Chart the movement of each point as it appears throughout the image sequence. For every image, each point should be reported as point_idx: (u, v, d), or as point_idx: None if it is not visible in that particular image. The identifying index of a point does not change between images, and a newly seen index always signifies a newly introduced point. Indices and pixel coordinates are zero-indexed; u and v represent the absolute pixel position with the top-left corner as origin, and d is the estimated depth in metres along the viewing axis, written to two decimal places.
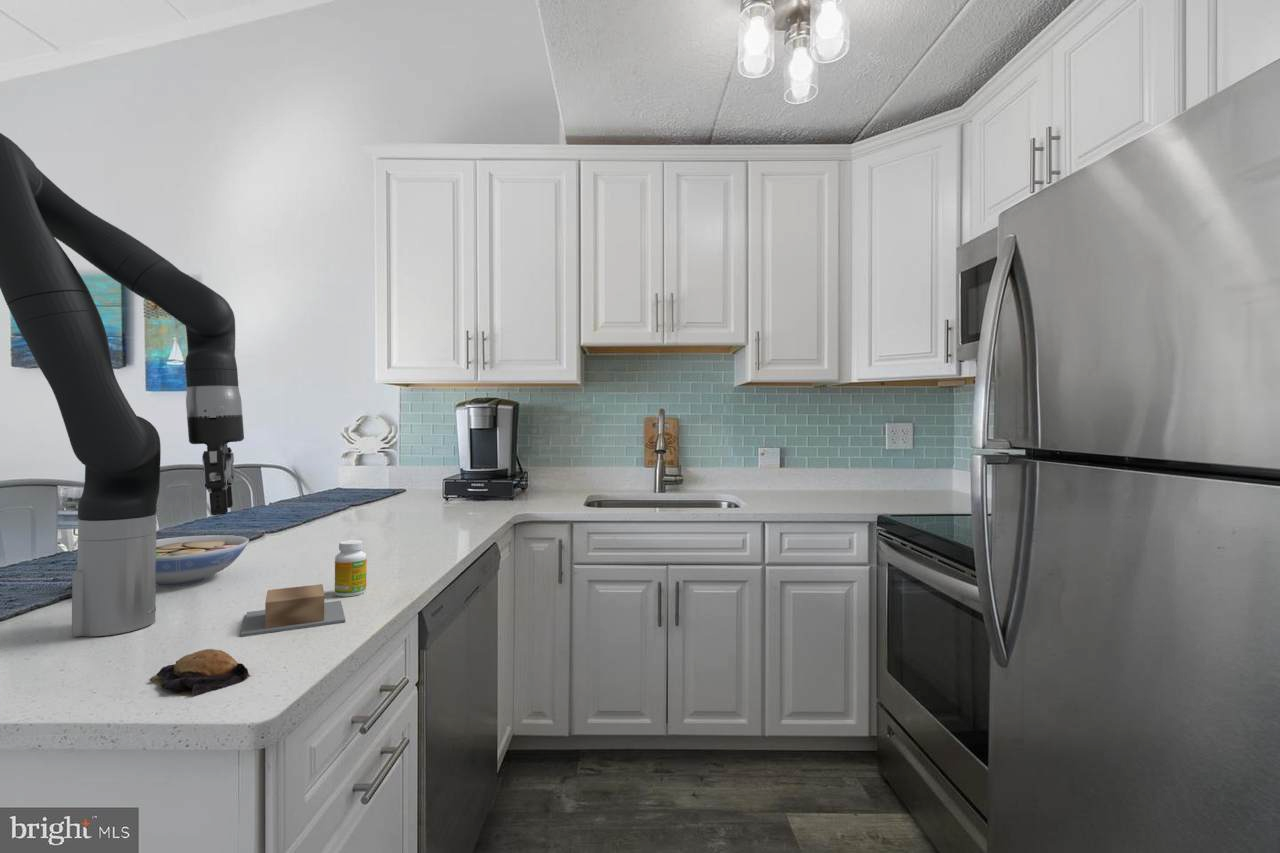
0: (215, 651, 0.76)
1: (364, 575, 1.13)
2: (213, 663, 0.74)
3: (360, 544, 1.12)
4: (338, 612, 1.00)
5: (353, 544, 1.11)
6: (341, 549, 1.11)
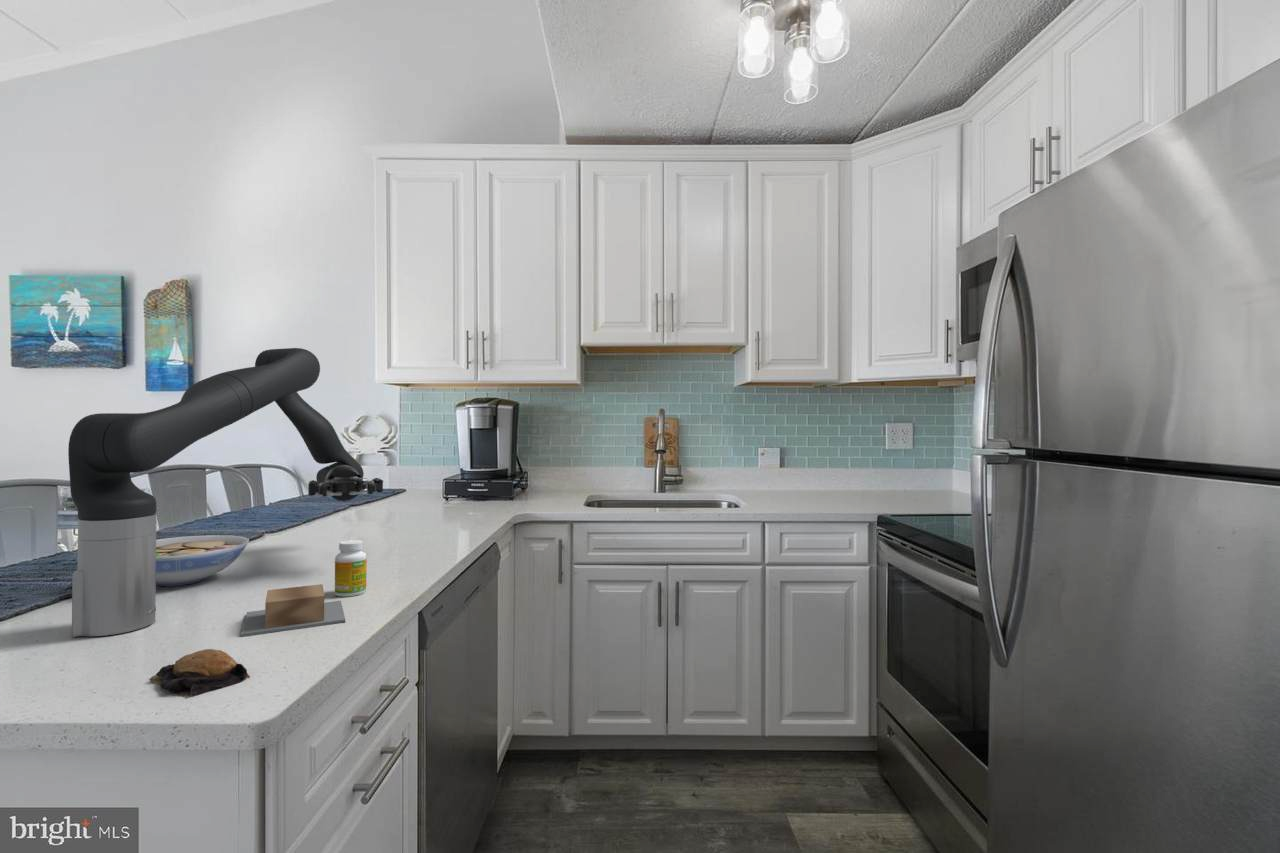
0: (214, 651, 0.76)
1: (364, 575, 1.13)
2: (212, 664, 0.73)
3: (360, 544, 1.12)
4: (338, 612, 1.00)
5: (353, 544, 1.11)
6: (341, 549, 1.11)
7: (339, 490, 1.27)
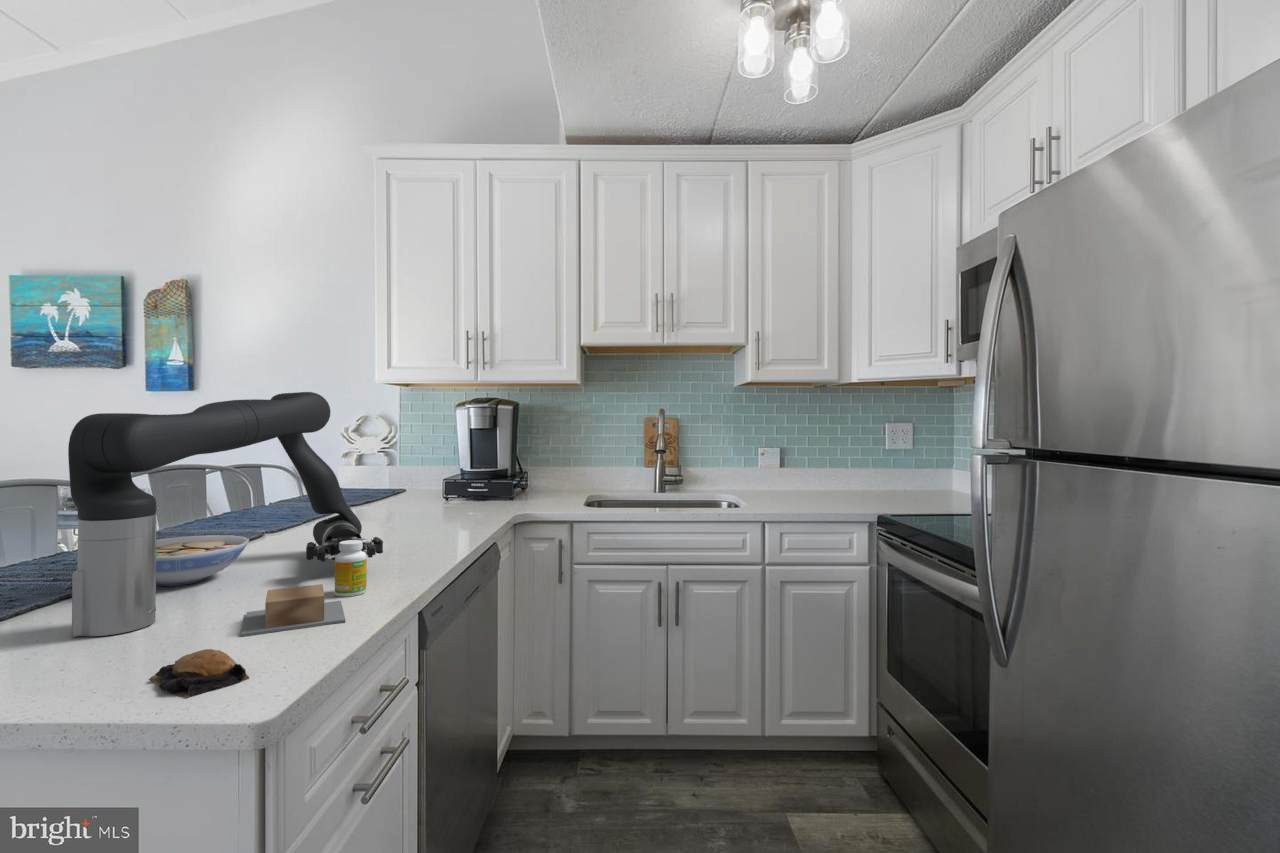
0: (213, 651, 0.76)
1: (364, 575, 1.13)
2: (211, 664, 0.73)
3: (360, 544, 1.12)
4: (338, 612, 1.00)
5: (353, 544, 1.11)
6: (341, 549, 1.11)
7: (338, 552, 1.24)
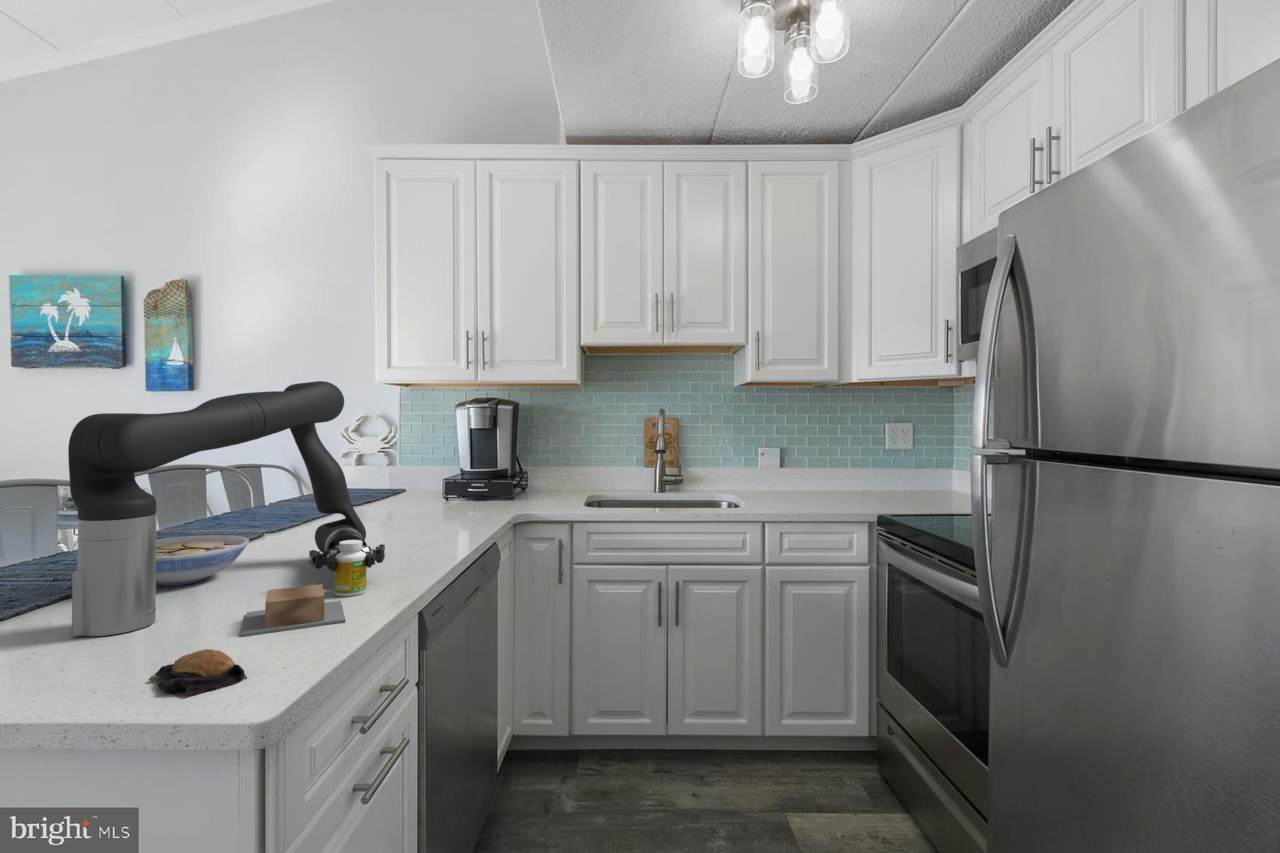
0: (213, 652, 0.75)
1: (364, 575, 1.13)
2: (209, 664, 0.73)
3: (360, 544, 1.12)
4: (338, 612, 1.00)
5: (353, 544, 1.11)
6: (341, 549, 1.11)
7: None
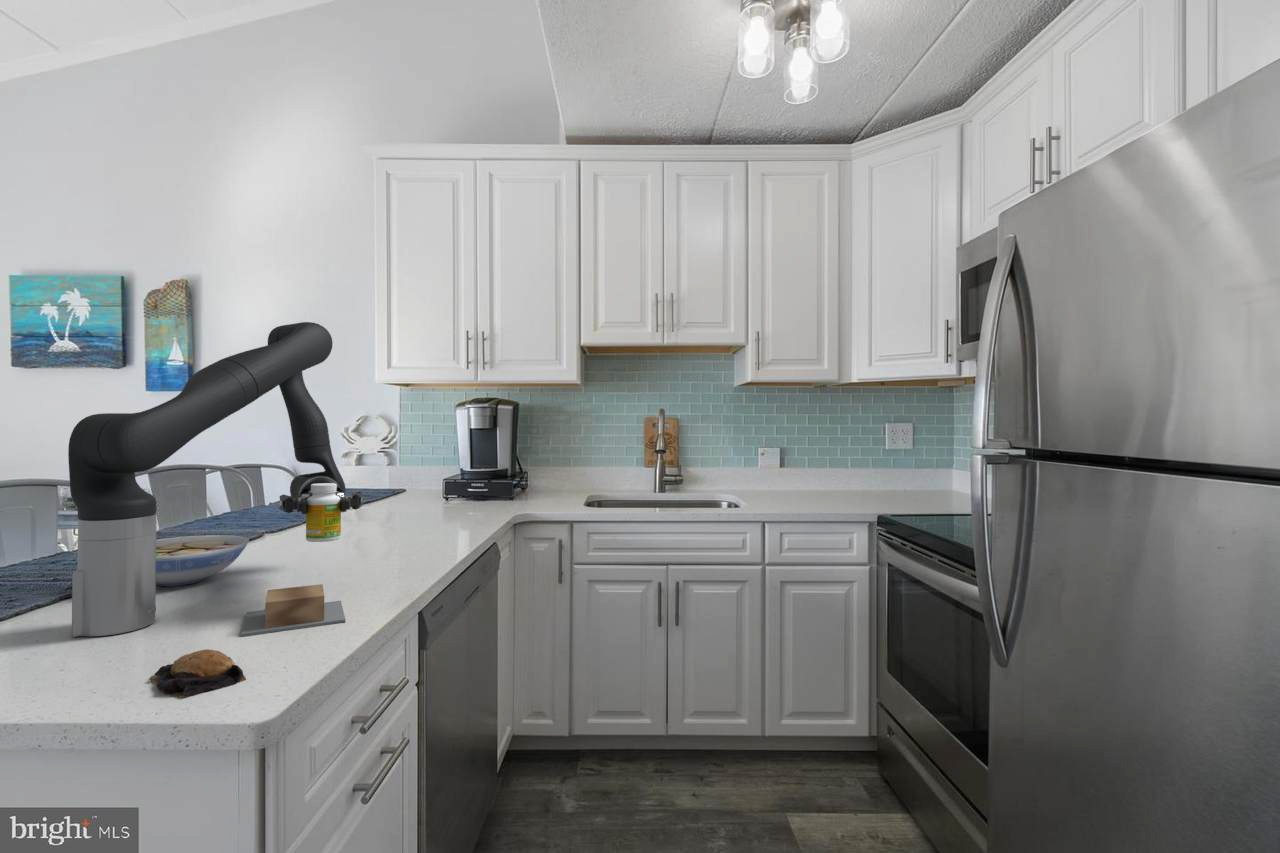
0: (212, 652, 0.75)
1: (338, 520, 1.04)
2: (208, 665, 0.73)
3: (334, 486, 1.04)
4: (338, 612, 1.00)
5: (326, 486, 1.03)
6: (313, 491, 1.03)
7: None
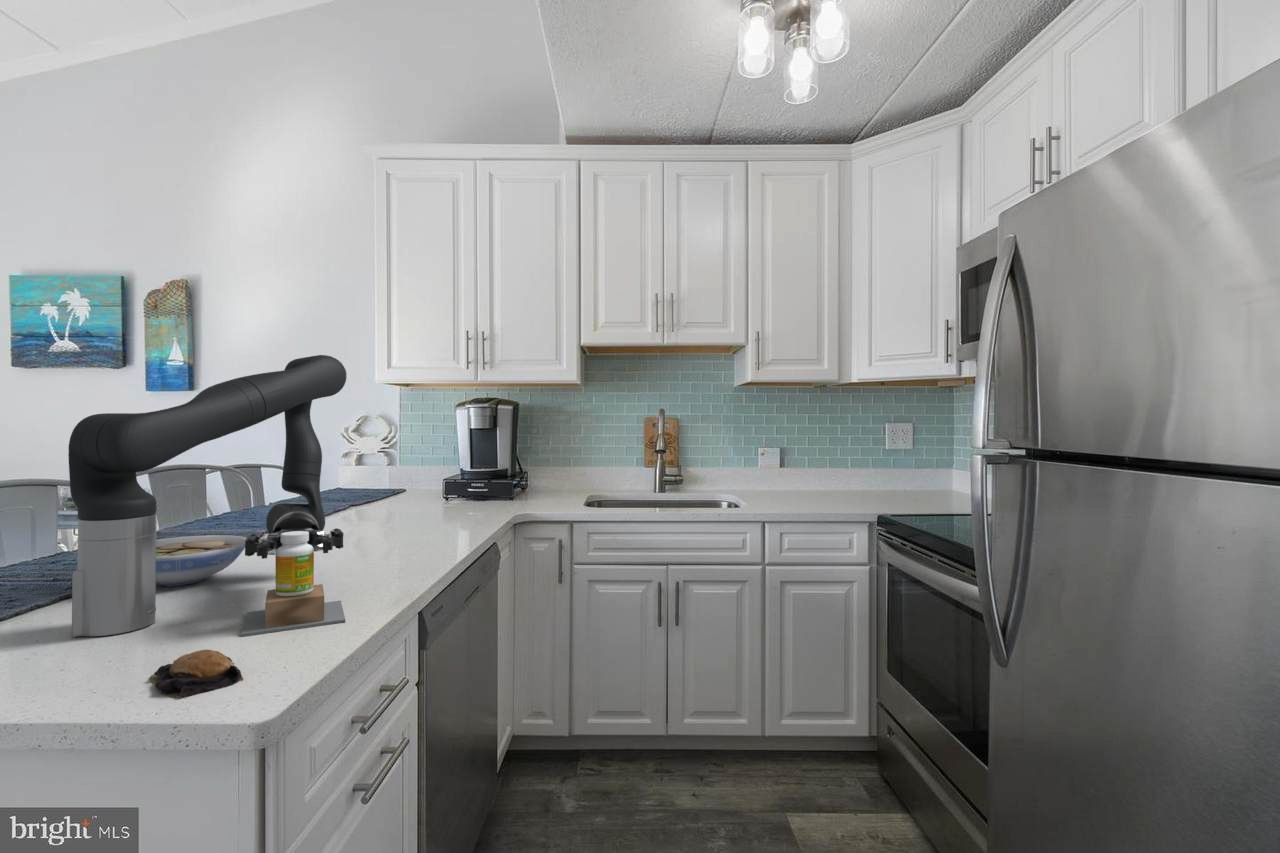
0: (211, 652, 0.75)
1: (310, 571, 0.97)
2: (206, 665, 0.73)
3: (305, 535, 0.97)
4: (338, 612, 1.00)
5: (296, 535, 0.96)
6: (282, 541, 0.95)
7: None
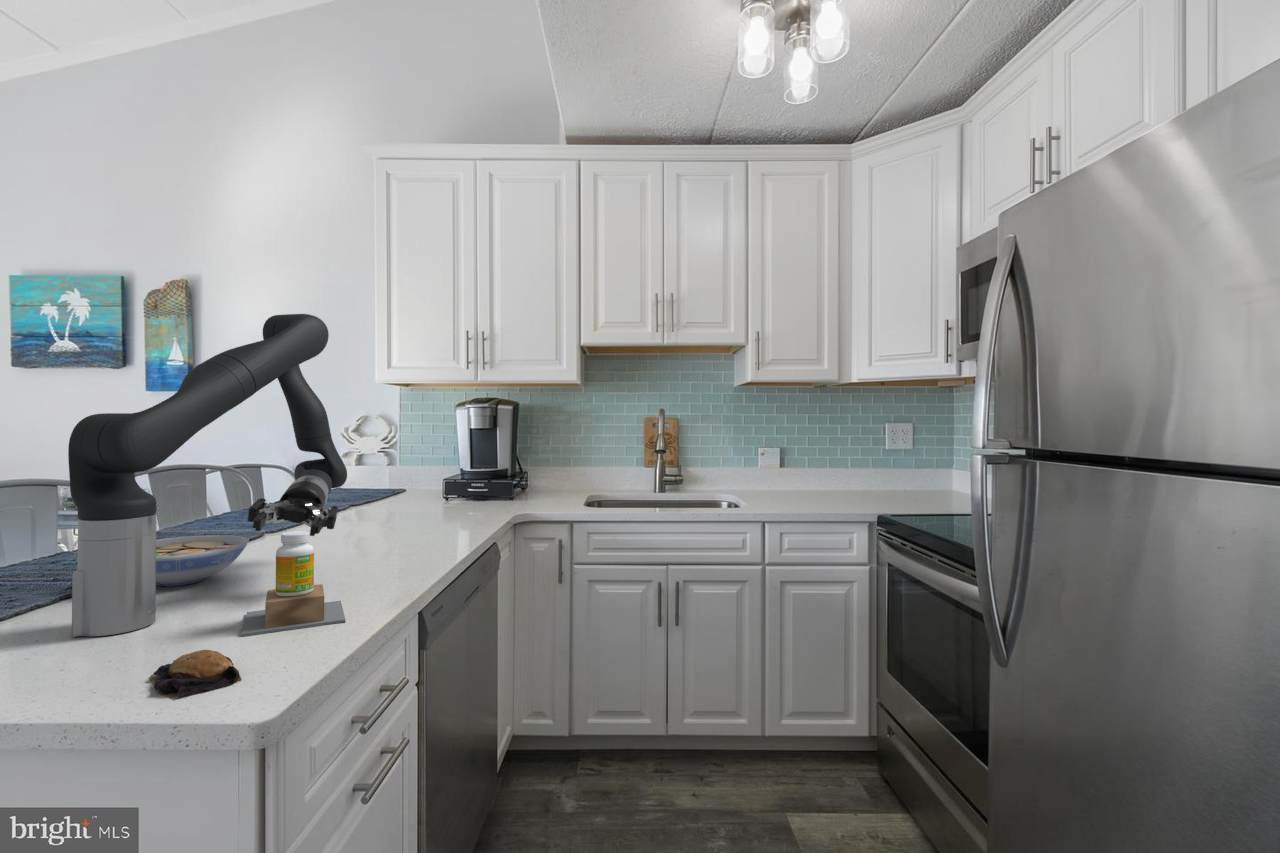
0: (210, 652, 0.75)
1: (311, 572, 0.97)
2: (204, 665, 0.73)
3: (306, 536, 0.97)
4: (338, 612, 1.00)
5: (297, 535, 0.96)
6: (283, 541, 0.95)
7: (285, 518, 1.11)
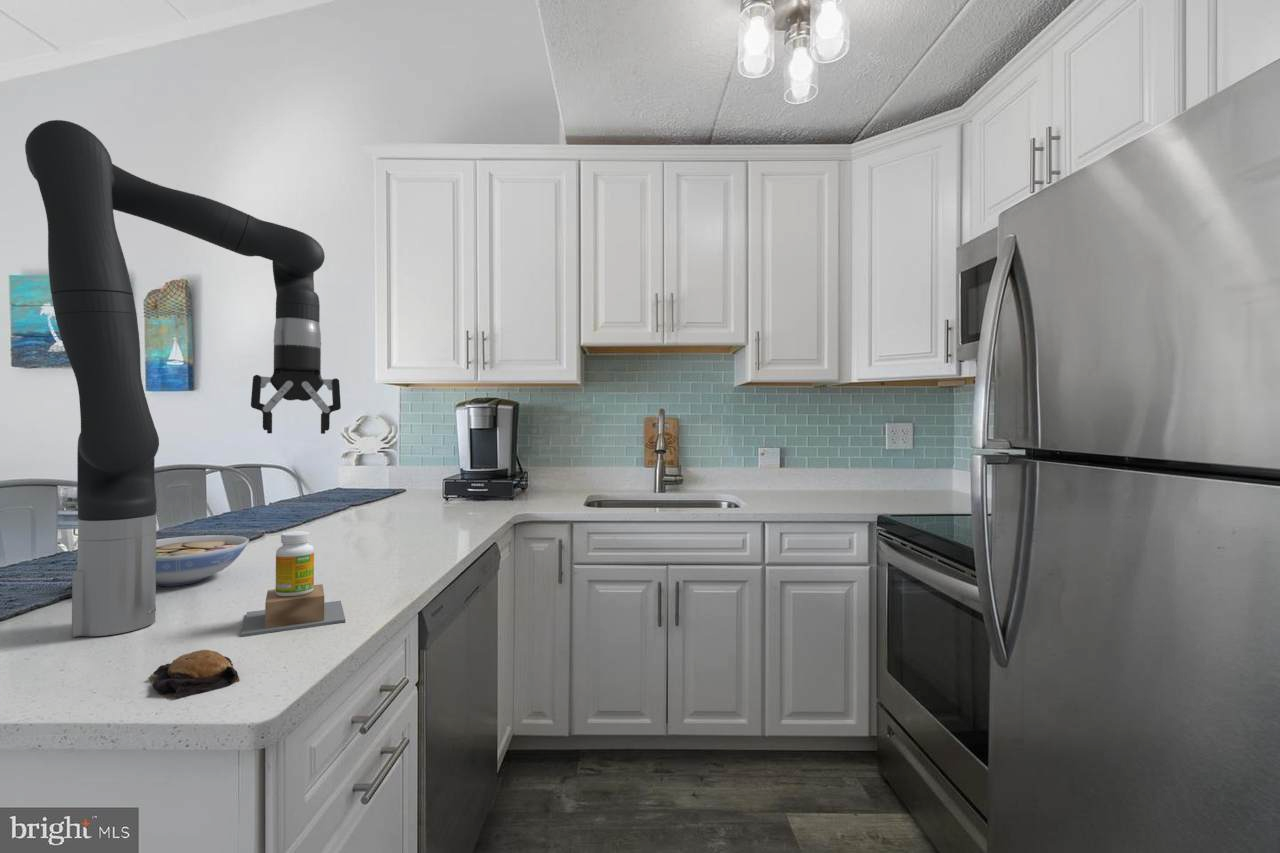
0: (209, 652, 0.75)
1: (311, 572, 0.97)
2: (202, 666, 0.73)
3: (306, 536, 0.97)
4: (338, 612, 1.00)
5: (297, 535, 0.96)
6: (283, 541, 0.95)
7: None
